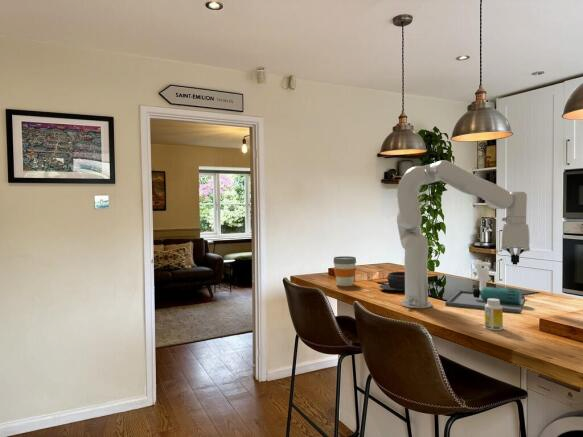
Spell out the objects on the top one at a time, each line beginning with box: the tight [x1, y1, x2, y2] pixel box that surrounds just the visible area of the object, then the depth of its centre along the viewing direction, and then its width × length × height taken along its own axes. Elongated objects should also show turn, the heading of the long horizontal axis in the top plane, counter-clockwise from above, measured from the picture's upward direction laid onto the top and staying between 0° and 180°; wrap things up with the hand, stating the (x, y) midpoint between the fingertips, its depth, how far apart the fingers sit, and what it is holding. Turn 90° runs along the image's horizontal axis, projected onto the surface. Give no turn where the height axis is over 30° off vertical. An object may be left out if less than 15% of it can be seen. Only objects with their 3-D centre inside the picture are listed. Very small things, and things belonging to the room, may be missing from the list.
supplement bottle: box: [484, 298, 504, 331], centre depth 145 cm, size 6×6×10 cm
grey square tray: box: [445, 289, 526, 314], centre depth 183 cm, size 28×28×2 cm
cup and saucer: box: [378, 271, 405, 293], centre depth 213 cm, size 25×19×8 cm
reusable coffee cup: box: [333, 255, 357, 287], centre depth 231 cm, size 13×13×15 cm
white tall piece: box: [474, 259, 492, 292], centre depth 207 cm, size 7×7×15 cm
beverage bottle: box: [473, 286, 522, 305], centre depth 180 cm, size 6×7×20 cm
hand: (514, 264), depth 176 cm, fingers closed
